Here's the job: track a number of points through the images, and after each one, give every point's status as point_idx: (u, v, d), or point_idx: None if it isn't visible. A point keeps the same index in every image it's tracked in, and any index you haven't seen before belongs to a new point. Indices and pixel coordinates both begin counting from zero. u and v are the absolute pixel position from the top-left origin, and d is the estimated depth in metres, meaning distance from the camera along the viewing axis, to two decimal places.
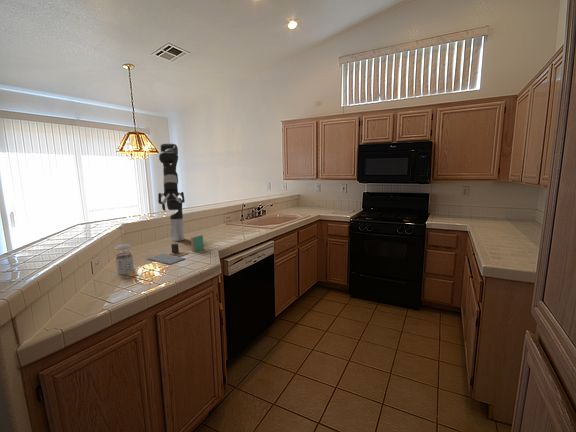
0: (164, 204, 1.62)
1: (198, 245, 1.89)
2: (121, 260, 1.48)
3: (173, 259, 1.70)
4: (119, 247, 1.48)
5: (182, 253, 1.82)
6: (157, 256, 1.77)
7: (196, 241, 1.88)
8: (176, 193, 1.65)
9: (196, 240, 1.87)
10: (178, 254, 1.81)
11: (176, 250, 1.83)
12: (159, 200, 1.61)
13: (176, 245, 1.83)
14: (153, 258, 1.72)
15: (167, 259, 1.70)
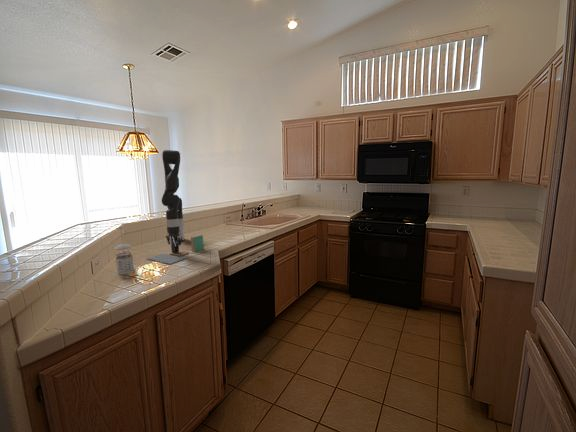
0: None
1: (198, 245, 1.89)
2: (121, 260, 1.48)
3: (173, 259, 1.70)
4: (119, 247, 1.48)
5: (182, 253, 1.82)
6: (157, 256, 1.77)
7: (196, 241, 1.88)
8: (175, 236, 1.80)
9: (196, 240, 1.87)
10: (178, 253, 1.80)
11: None
12: (168, 242, 1.84)
13: None
14: (153, 258, 1.72)
15: (167, 259, 1.70)
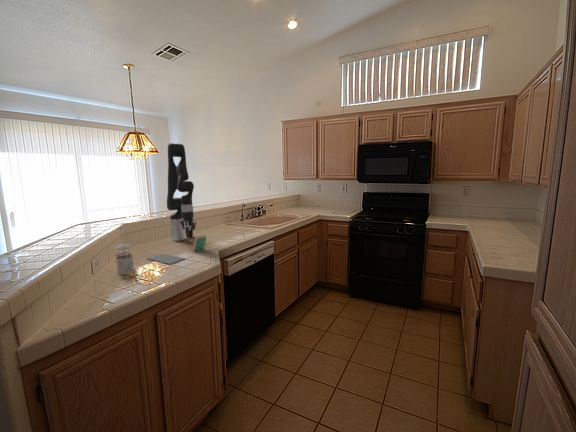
0: None
1: (199, 246, 1.89)
2: (121, 260, 1.48)
3: (173, 259, 1.70)
4: (119, 247, 1.48)
5: None
6: (157, 256, 1.77)
7: (199, 242, 1.86)
8: (189, 220, 1.89)
9: (199, 241, 1.86)
10: (192, 238, 1.89)
11: None
12: (182, 227, 1.93)
13: None
14: (153, 258, 1.72)
15: (167, 259, 1.70)
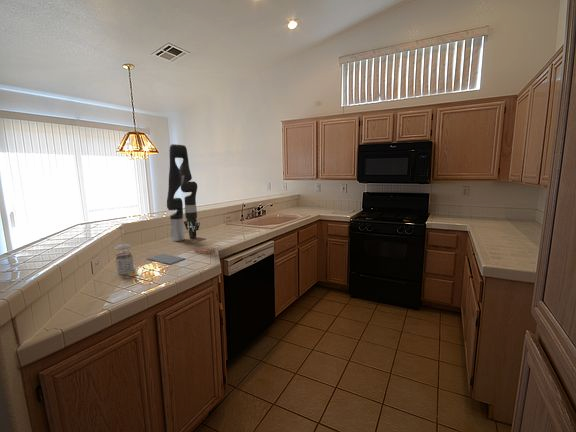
0: None
1: None
2: (121, 260, 1.48)
3: (173, 259, 1.70)
4: (119, 247, 1.48)
5: (200, 238, 1.89)
6: (157, 256, 1.77)
7: None
8: (193, 221, 1.87)
9: None
10: (196, 239, 1.88)
11: None
12: (186, 227, 1.91)
13: None
14: (153, 258, 1.72)
15: (167, 259, 1.70)
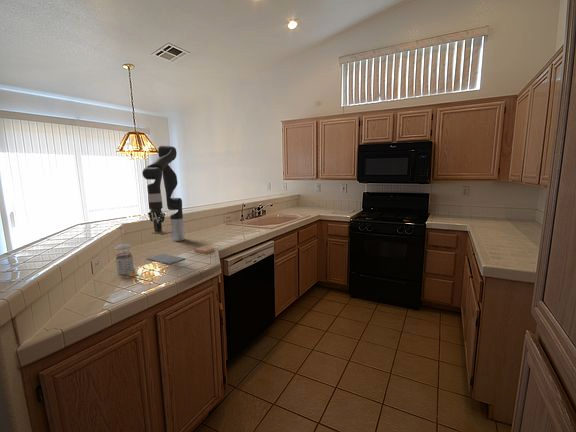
0: None
1: None
2: (121, 260, 1.48)
3: (173, 259, 1.70)
4: (119, 247, 1.48)
5: (165, 231, 1.70)
6: (157, 256, 1.77)
7: None
8: (157, 212, 1.68)
9: None
10: (161, 232, 1.68)
11: None
12: (150, 219, 1.72)
13: None
14: (153, 258, 1.72)
15: (167, 259, 1.70)
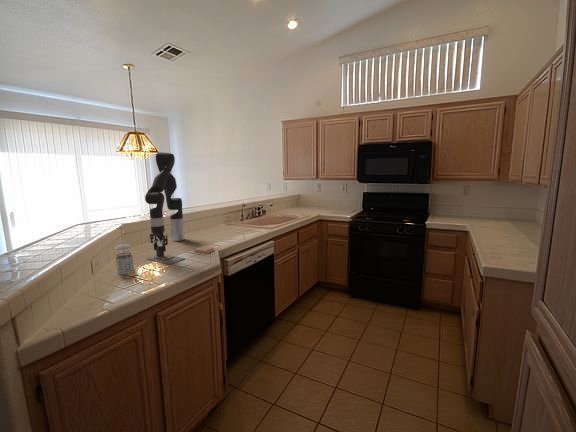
0: (154, 245, 1.74)
1: None
2: (121, 260, 1.48)
3: (173, 259, 1.70)
4: (119, 247, 1.48)
5: (167, 256, 1.73)
6: None
7: None
8: (159, 236, 1.70)
9: None
10: (163, 257, 1.71)
11: (161, 253, 1.74)
12: (151, 241, 1.75)
13: (161, 248, 1.73)
14: (153, 258, 1.72)
15: None
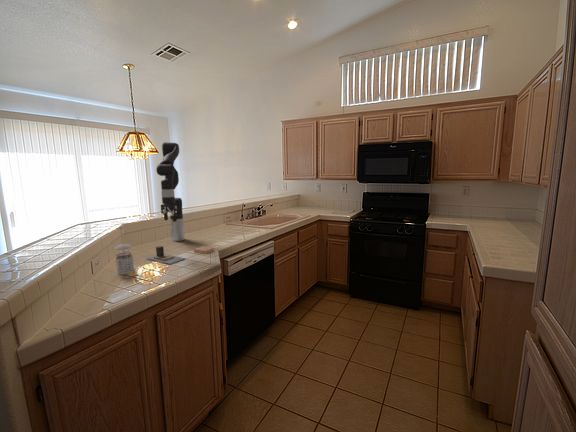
0: (164, 215, 1.82)
1: None
2: (121, 260, 1.48)
3: (173, 259, 1.70)
4: (119, 247, 1.48)
5: (167, 256, 1.73)
6: None
7: None
8: (170, 206, 1.77)
9: None
10: (163, 257, 1.71)
11: (161, 253, 1.74)
12: (161, 211, 1.83)
13: (161, 248, 1.73)
14: (153, 258, 1.72)
15: None
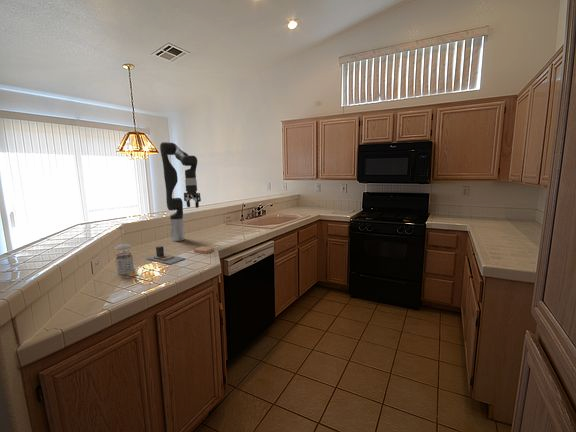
0: (187, 202, 1.99)
1: None
2: (121, 260, 1.48)
3: (173, 259, 1.70)
4: (119, 247, 1.48)
5: (167, 256, 1.73)
6: None
7: None
8: (193, 194, 1.94)
9: None
10: (163, 257, 1.71)
11: (161, 253, 1.74)
12: (184, 199, 2.00)
13: (161, 248, 1.73)
14: (153, 258, 1.72)
15: None
